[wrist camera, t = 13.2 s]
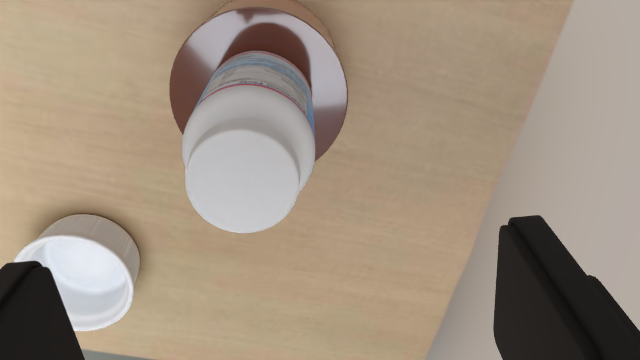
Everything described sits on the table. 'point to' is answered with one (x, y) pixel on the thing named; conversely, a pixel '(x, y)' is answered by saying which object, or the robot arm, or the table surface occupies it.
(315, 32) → the canister
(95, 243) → the ramekin
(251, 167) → the pill bottle
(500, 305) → the robot arm
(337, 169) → the table surface
